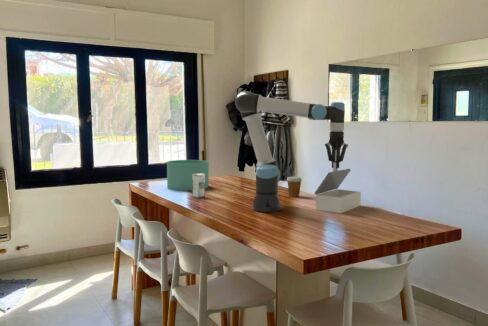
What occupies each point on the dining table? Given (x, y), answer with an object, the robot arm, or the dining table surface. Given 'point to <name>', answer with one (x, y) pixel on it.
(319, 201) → the box
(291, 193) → the disposable coffee cup
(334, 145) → the robot arm
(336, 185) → the cover
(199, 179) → the syrup box
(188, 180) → the container
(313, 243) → the dining table surface
